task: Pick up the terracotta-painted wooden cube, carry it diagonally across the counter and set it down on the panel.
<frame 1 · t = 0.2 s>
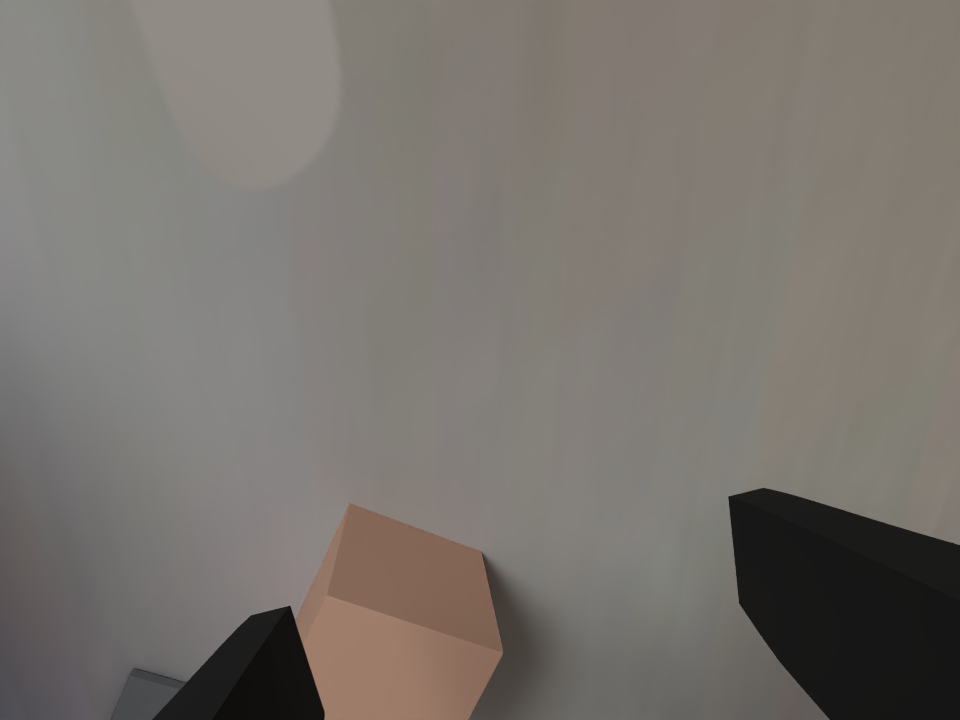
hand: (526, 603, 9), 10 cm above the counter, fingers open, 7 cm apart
cube: (388, 586, 19), on the counter
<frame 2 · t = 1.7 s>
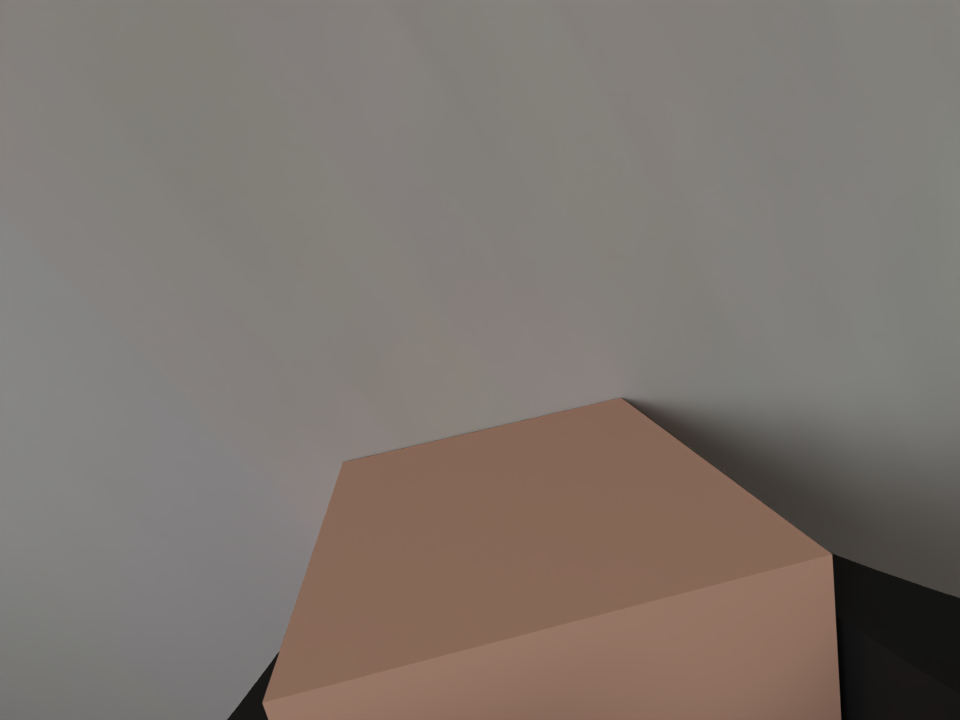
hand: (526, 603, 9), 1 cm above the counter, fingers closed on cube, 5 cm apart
cube: (510, 554, 10), on the counter, touching gripper
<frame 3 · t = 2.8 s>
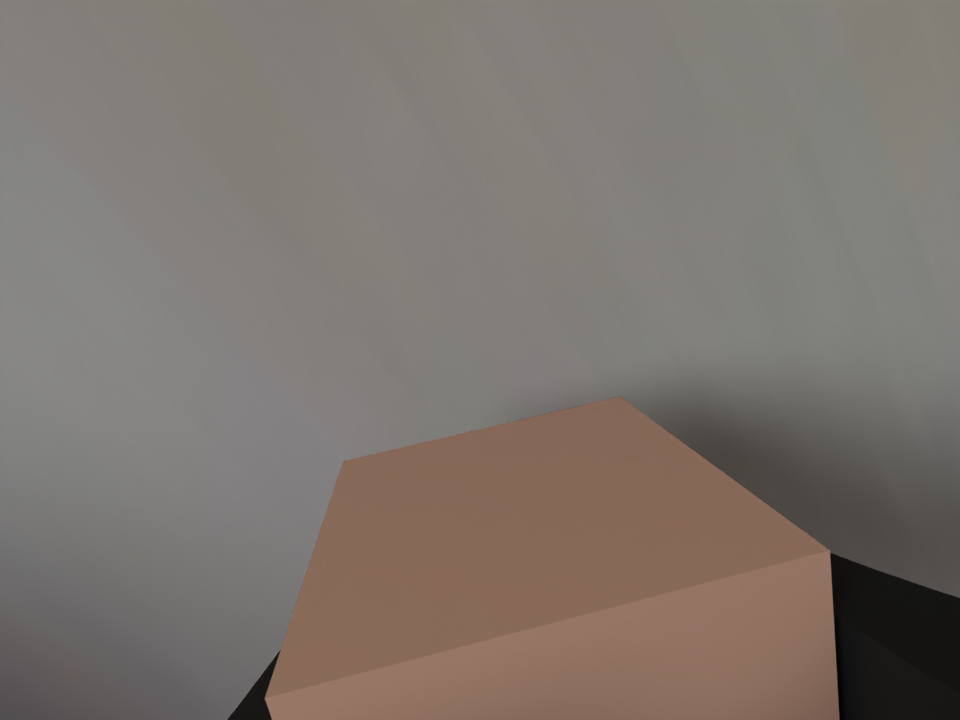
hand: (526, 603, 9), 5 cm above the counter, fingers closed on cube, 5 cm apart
cube: (510, 552, 10), point 4 cm above the counter, touching gripper
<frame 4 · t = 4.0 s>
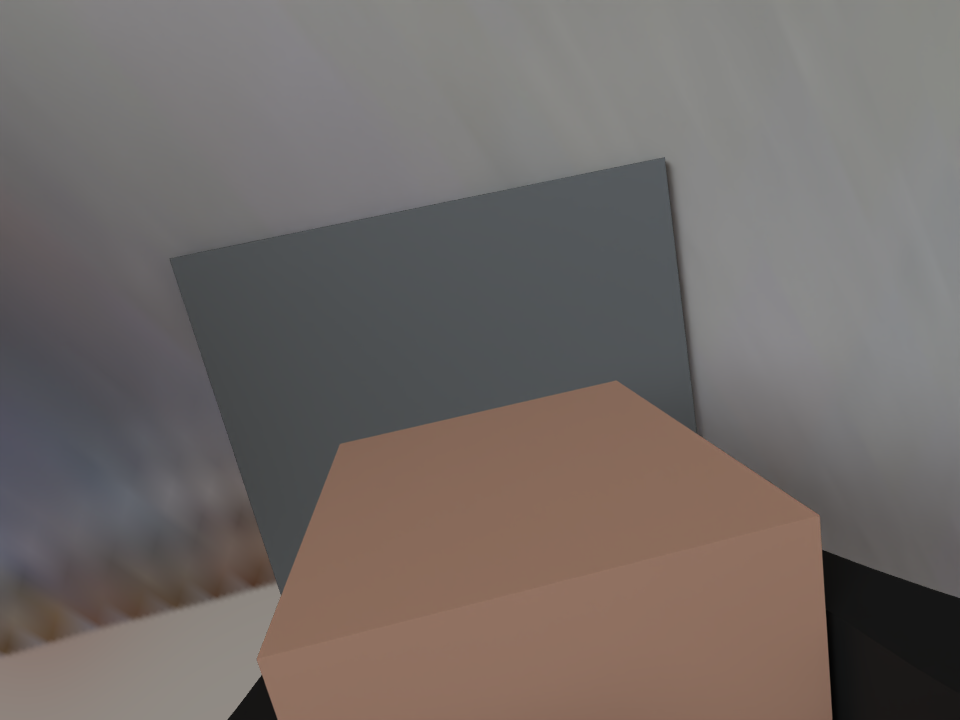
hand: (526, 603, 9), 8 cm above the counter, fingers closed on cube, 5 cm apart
cube: (507, 536, 10), point 7 cm above the counter, touching gripper
panel: (474, 435, 17), on the counter
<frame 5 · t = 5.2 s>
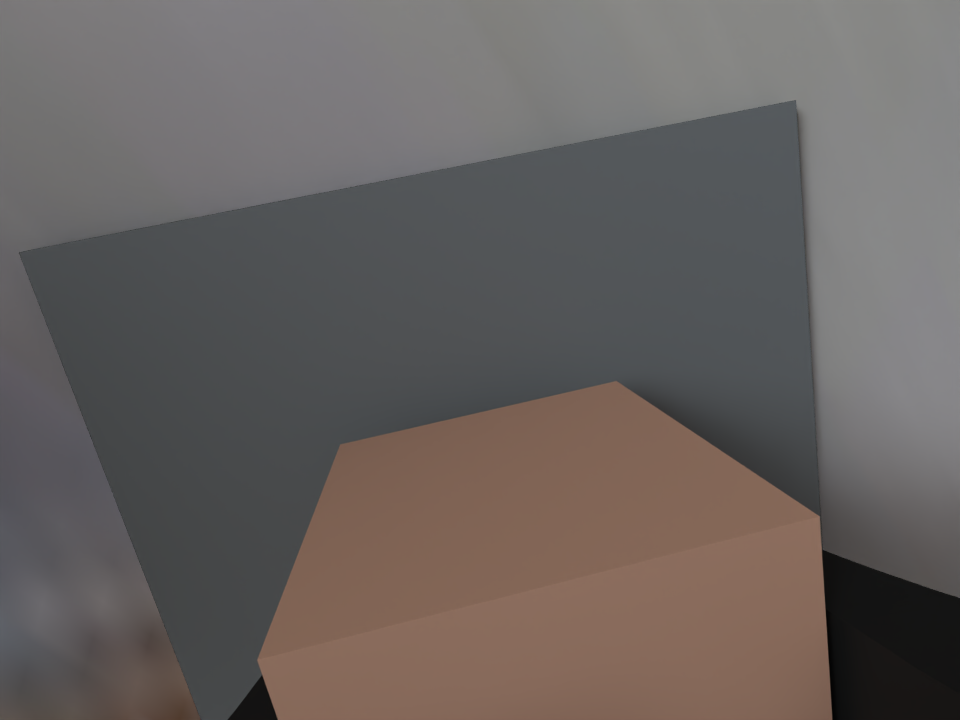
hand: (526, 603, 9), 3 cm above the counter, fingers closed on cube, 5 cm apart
cube: (507, 537, 10), point 1 cm above the counter, touching gripper
panel: (499, 515, 11), on the counter
when the fingers open (3 cm above the counter, at t = 6.0 s): cube drops 1 cm, resting on panel.
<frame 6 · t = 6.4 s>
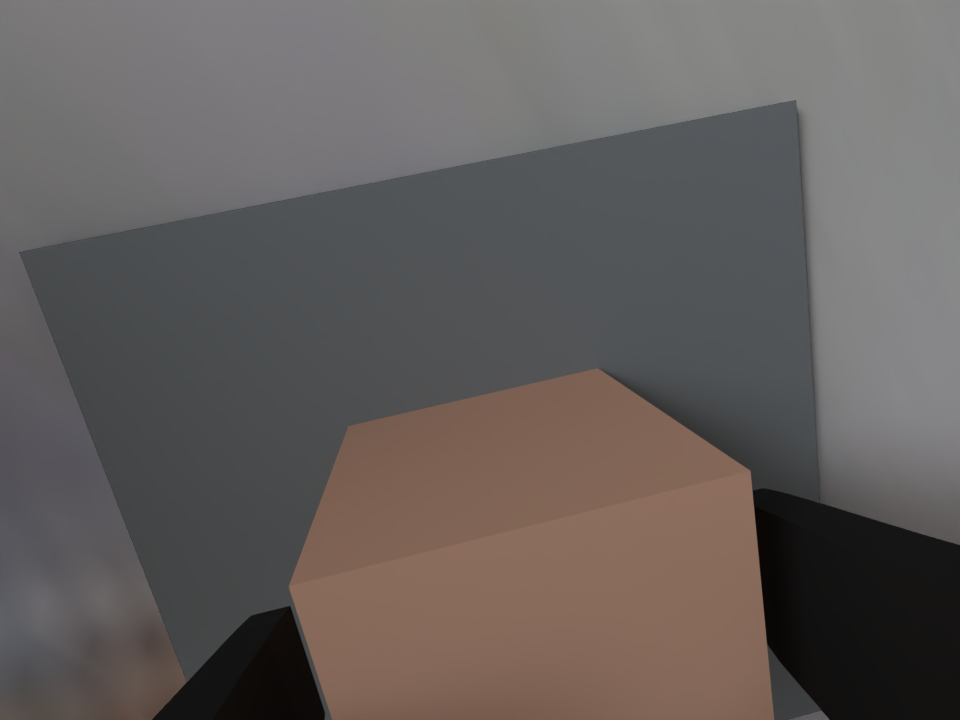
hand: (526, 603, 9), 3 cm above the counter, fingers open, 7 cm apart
cube: (499, 510, 11), resting on panel
panel: (499, 515, 11), on the counter
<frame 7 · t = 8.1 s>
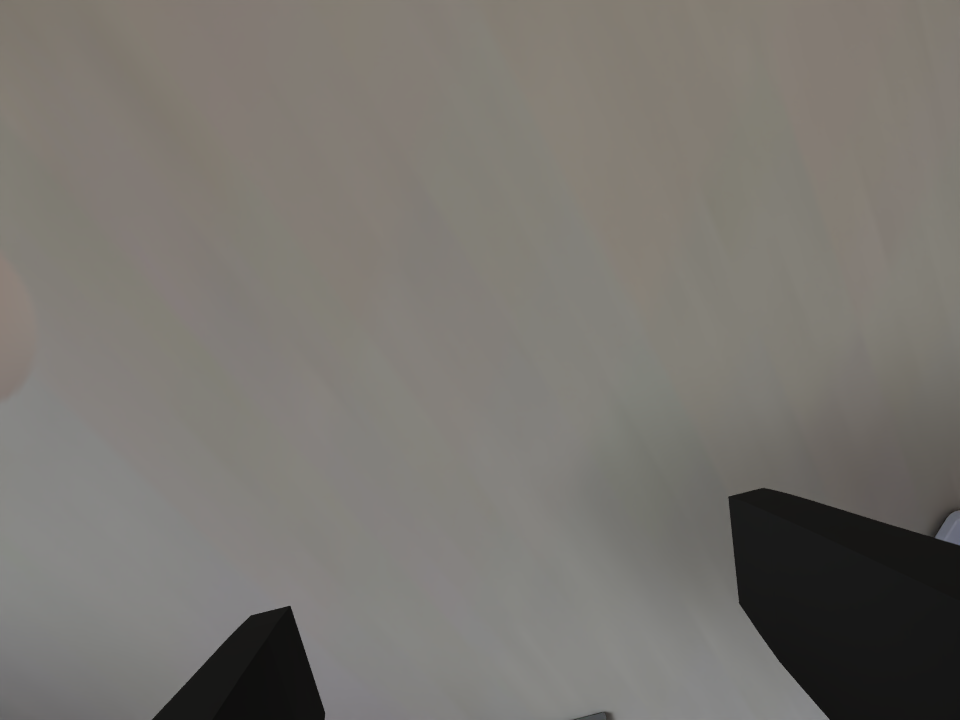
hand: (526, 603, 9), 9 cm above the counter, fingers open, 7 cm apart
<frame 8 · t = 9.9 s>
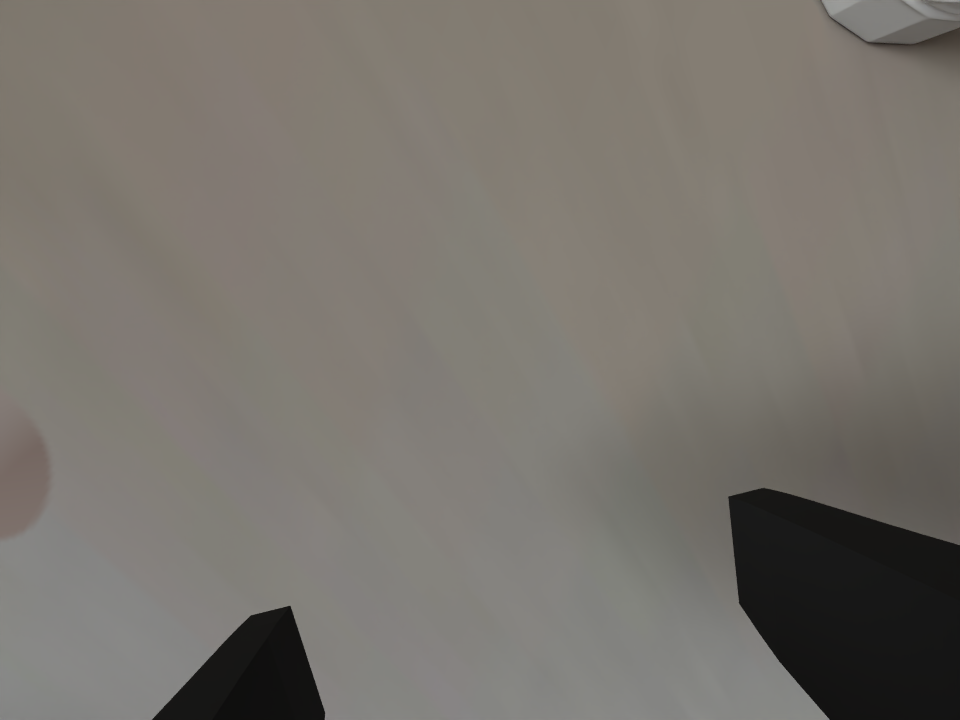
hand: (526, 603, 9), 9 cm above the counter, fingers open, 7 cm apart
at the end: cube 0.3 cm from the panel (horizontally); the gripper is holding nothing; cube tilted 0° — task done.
